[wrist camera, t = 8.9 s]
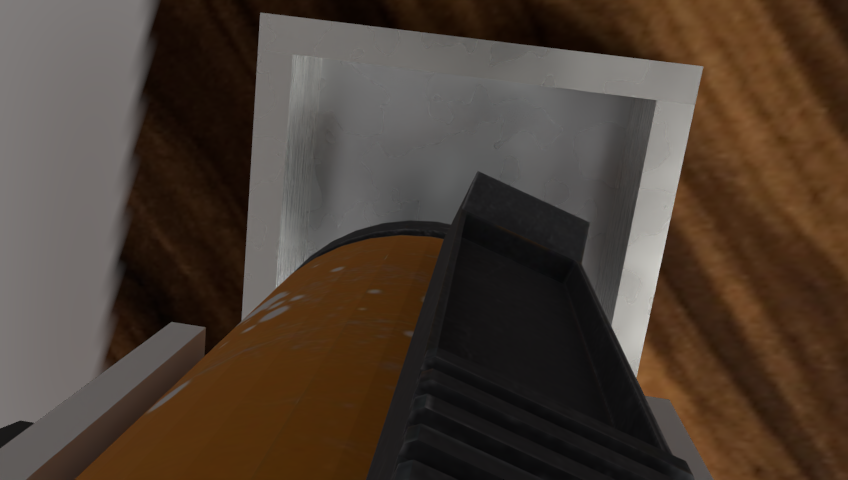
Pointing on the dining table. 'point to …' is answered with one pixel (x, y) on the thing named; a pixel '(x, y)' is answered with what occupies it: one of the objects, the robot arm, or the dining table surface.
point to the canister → (415, 366)
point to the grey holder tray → (462, 146)
